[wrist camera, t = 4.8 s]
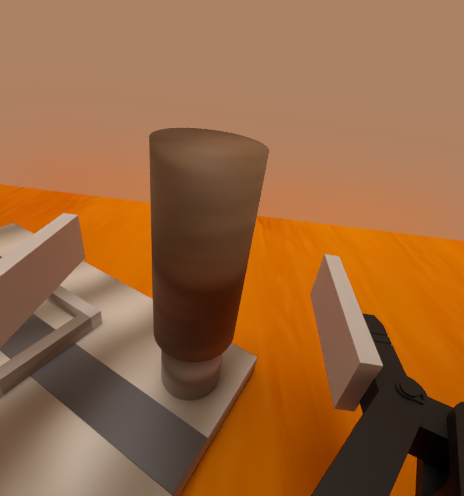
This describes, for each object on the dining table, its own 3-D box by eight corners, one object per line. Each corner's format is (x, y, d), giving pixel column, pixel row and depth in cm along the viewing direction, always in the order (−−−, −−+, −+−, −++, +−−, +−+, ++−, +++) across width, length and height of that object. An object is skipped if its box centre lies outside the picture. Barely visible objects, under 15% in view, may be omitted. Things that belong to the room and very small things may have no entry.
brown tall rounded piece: (238, 365, 19) (286, 146, 12) (199, 423, 16) (232, 168, 8) (184, 333, 21) (197, 124, 13) (138, 380, 17) (121, 135, 10)
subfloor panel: (253, 370, 21) (260, 345, 19) (45, 721, 9) (23, 722, 8) (17, 235, 31) (10, 212, 29) (-223, 320, 19) (-254, 289, 18)
